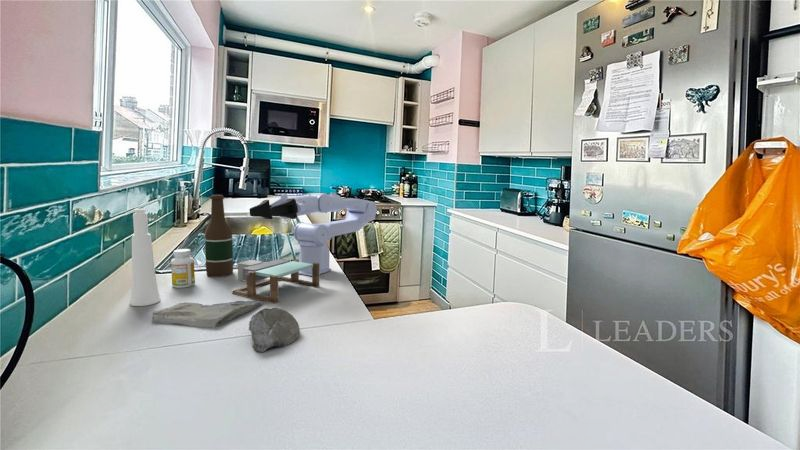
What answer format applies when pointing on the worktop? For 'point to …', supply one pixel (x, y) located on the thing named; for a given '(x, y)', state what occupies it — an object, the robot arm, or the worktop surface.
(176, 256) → the supplement bottle
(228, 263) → the beer bottle
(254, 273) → the walnut frame
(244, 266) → the stone block
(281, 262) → the trapdoor plate
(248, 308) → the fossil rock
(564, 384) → the worktop surface
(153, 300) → the cosmetic bottle
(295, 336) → the fossilized seashell
